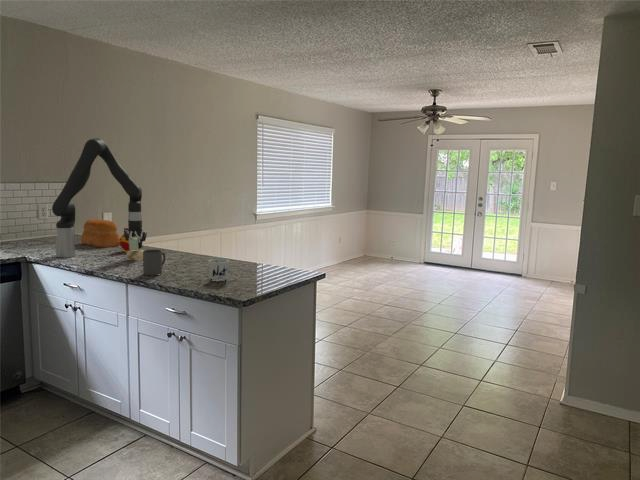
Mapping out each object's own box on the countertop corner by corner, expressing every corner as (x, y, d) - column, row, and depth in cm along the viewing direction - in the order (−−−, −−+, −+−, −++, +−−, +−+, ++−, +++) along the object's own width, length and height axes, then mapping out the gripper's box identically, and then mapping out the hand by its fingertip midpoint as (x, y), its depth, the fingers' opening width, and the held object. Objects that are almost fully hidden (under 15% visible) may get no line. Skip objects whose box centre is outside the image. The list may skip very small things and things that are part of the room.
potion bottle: (115, 252, 309) (114, 228, 307) (127, 249, 318) (127, 226, 316) (128, 253, 305) (127, 229, 303) (140, 251, 314) (139, 227, 312)
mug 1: (153, 276, 246) (152, 253, 244) (139, 274, 250) (138, 251, 248) (172, 272, 258) (171, 249, 256) (158, 269, 262) (158, 247, 260)
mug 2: (210, 283, 236) (210, 263, 235) (204, 276, 250) (204, 257, 248) (231, 282, 240) (231, 261, 239) (225, 275, 254) (225, 256, 252)
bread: (101, 248, 320) (100, 222, 318) (79, 244, 334) (78, 218, 332) (122, 245, 333) (122, 220, 331) (100, 241, 347) (99, 217, 345)
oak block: (126, 260, 286) (126, 251, 286) (135, 257, 294) (135, 249, 293) (138, 261, 284) (138, 252, 283) (147, 258, 292) (146, 250, 291)
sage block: (129, 249, 286) (129, 239, 285) (134, 248, 291) (134, 238, 290) (137, 250, 285) (136, 240, 284) (141, 248, 290) (141, 238, 289)
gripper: (120, 219, 283) (120, 248, 285) (142, 220, 280) (143, 250, 283) (127, 218, 290) (128, 246, 293) (149, 219, 287) (150, 248, 290)
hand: (135, 248), depth 288 cm, fingers closed on sage block, 5 cm apart
